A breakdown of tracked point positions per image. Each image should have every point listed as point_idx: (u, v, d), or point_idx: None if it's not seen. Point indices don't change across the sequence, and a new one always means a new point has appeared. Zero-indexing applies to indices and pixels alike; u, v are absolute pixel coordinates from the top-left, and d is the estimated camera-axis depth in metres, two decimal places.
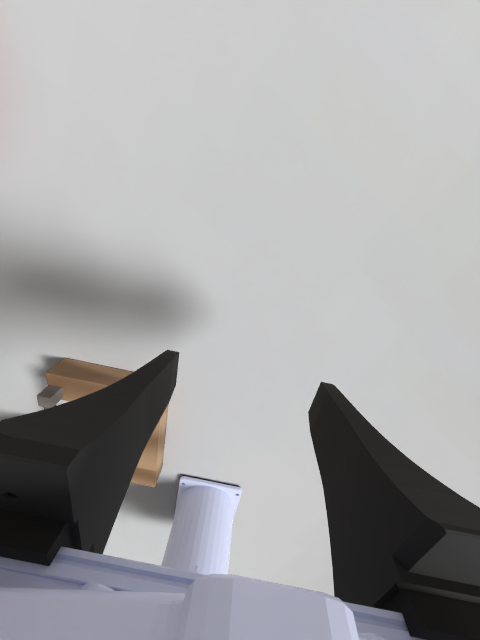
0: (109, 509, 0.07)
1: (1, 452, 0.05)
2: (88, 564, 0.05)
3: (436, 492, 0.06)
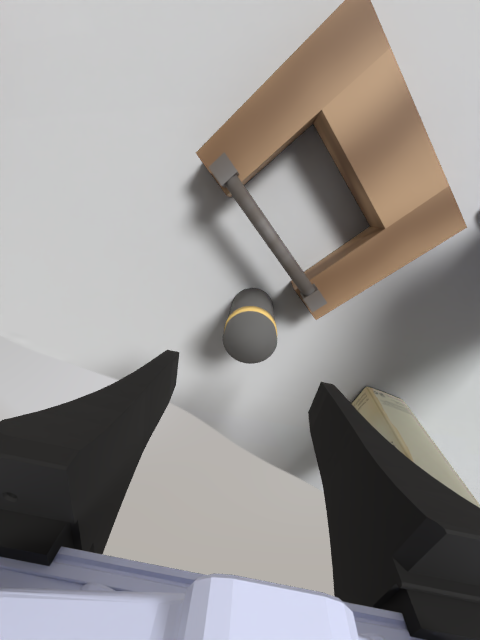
0: (109, 509, 0.07)
1: (1, 452, 0.05)
2: (88, 564, 0.05)
3: (436, 492, 0.06)
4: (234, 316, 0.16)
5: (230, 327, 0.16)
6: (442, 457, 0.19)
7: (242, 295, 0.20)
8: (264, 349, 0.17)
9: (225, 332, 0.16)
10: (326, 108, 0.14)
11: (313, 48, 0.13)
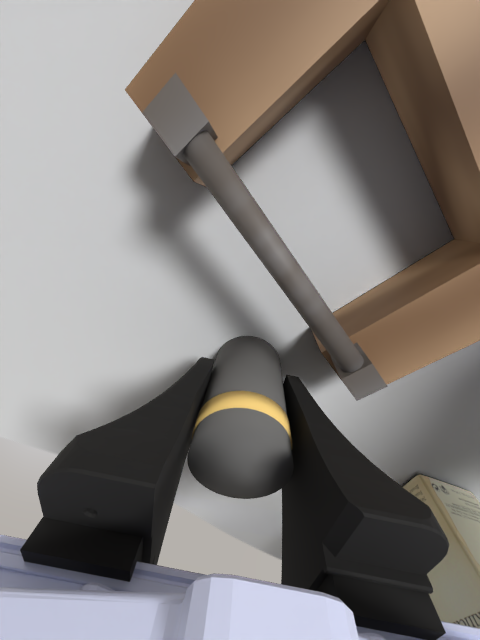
0: (165, 520, 0.07)
1: (90, 470, 0.05)
2: None
3: (371, 479, 0.06)
4: (210, 417, 0.08)
5: (201, 444, 0.08)
6: None
7: (230, 353, 0.12)
8: (268, 480, 0.09)
9: (191, 451, 0.08)
10: None
11: None
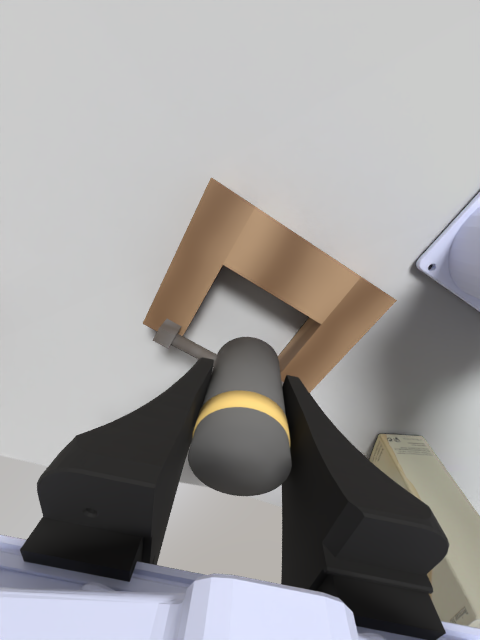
0: (165, 520, 0.07)
1: (90, 470, 0.05)
2: None
3: (371, 479, 0.06)
4: (210, 416, 0.09)
5: (202, 442, 0.08)
6: (469, 508, 0.18)
7: (229, 353, 0.12)
8: (267, 477, 0.09)
9: (192, 449, 0.09)
10: (226, 262, 0.16)
11: (195, 230, 0.15)
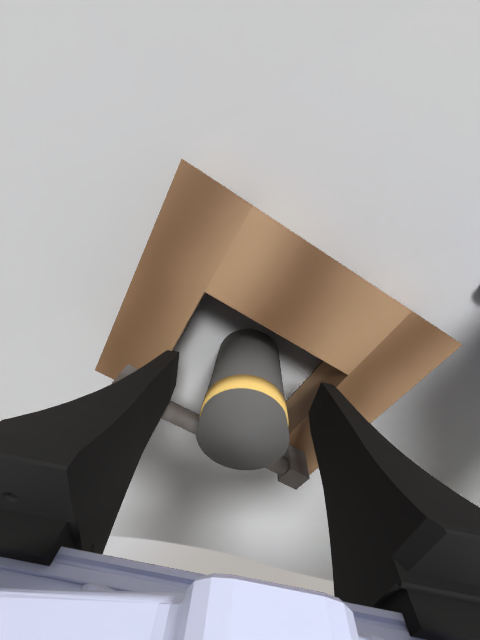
0: (109, 509, 0.07)
1: (1, 452, 0.05)
2: (88, 564, 0.05)
3: (436, 492, 0.06)
4: (216, 397, 0.10)
5: (208, 419, 0.09)
6: None
7: (232, 343, 0.13)
8: (267, 451, 0.10)
9: (200, 426, 0.09)
10: (209, 288, 0.11)
11: (162, 241, 0.10)
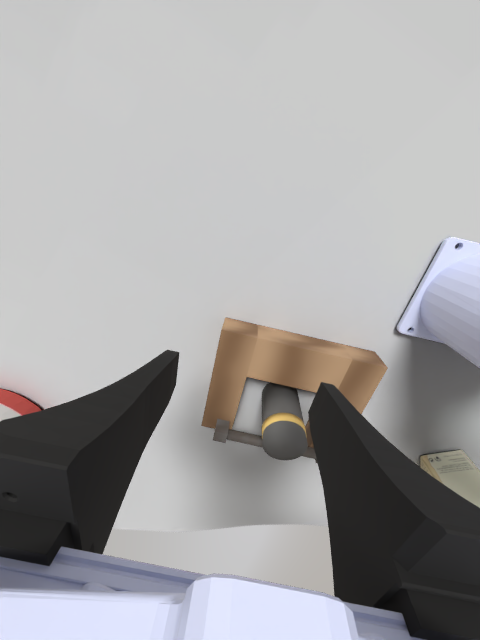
0: (109, 509, 0.07)
1: (1, 452, 0.05)
2: (88, 564, 0.05)
3: (436, 492, 0.06)
4: (267, 428, 0.20)
5: (266, 439, 0.20)
6: None
7: (268, 393, 0.24)
8: (298, 448, 0.20)
9: (263, 443, 0.20)
10: (248, 374, 0.22)
11: (221, 361, 0.21)
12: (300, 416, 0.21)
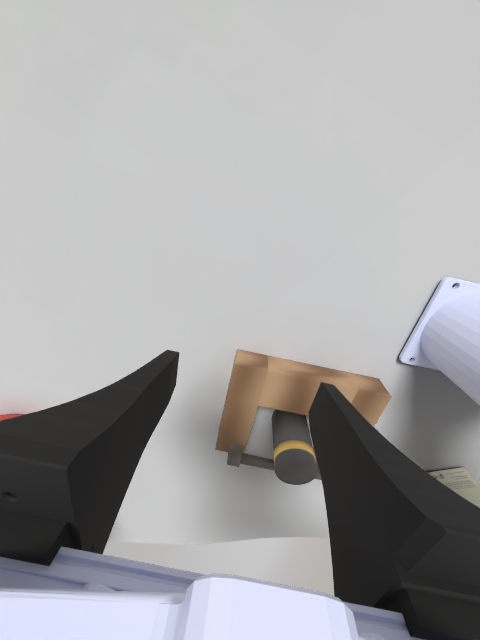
0: (109, 509, 0.07)
1: (1, 452, 0.05)
2: (88, 564, 0.05)
3: (436, 492, 0.06)
4: (279, 455, 0.22)
5: (279, 466, 0.21)
6: None
7: (278, 419, 0.25)
8: (309, 474, 0.21)
9: (276, 470, 0.21)
10: (260, 403, 0.23)
11: (234, 392, 0.23)
12: (309, 442, 0.23)
